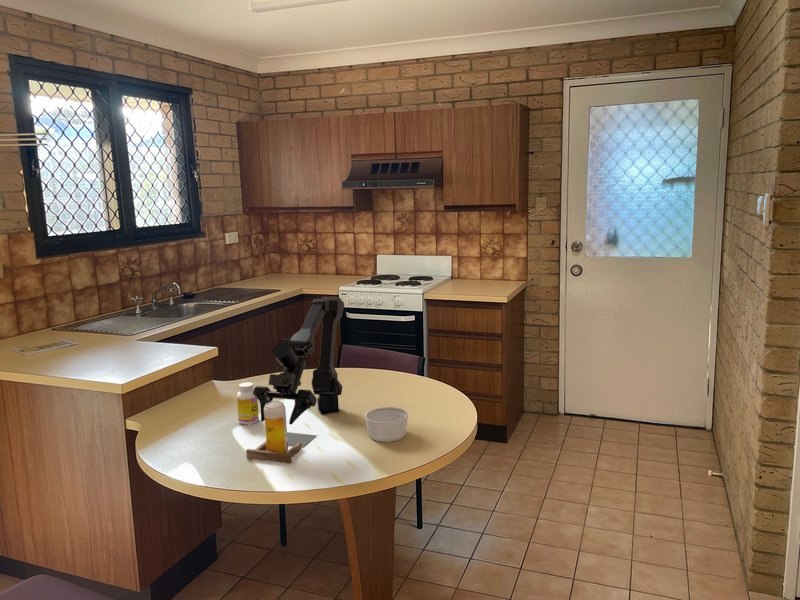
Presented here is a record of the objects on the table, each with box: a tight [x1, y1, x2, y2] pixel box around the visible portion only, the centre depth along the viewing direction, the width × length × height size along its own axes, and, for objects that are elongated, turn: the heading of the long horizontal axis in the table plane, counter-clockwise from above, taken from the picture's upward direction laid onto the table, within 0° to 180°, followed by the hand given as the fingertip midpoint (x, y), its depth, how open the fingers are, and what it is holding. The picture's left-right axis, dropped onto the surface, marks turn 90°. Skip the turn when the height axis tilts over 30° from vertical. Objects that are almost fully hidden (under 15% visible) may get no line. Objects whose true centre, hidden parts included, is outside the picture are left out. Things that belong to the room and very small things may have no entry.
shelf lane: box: [245, 440, 303, 465], centre depth 184 cm, size 10×14×2 cm
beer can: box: [264, 400, 289, 453], centre depth 184 cm, size 6×6×15 cm
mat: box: [287, 431, 317, 448], centre depth 194 cm, size 9×11×1 cm
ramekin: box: [364, 406, 409, 443], centre depth 195 cm, size 13×13×7 cm
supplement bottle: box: [236, 382, 260, 425], centre depth 210 cm, size 7×7×13 cm
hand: (276, 422), depth 184 cm, fingers open, 9 cm apart
